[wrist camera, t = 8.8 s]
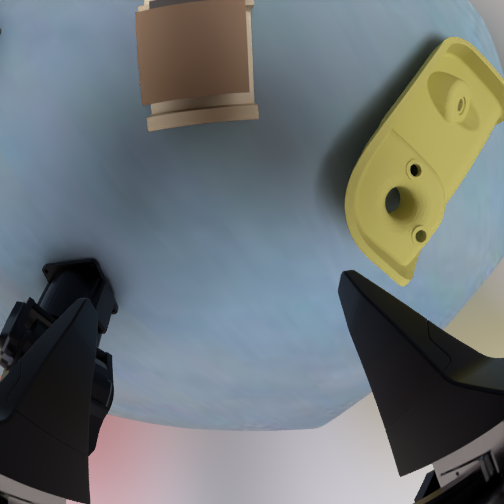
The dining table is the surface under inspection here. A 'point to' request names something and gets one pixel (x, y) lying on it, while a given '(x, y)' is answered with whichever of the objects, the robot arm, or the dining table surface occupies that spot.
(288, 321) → the dining table surface
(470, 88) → the plastic component
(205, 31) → the walnut finger
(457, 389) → the robot arm
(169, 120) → the rail
